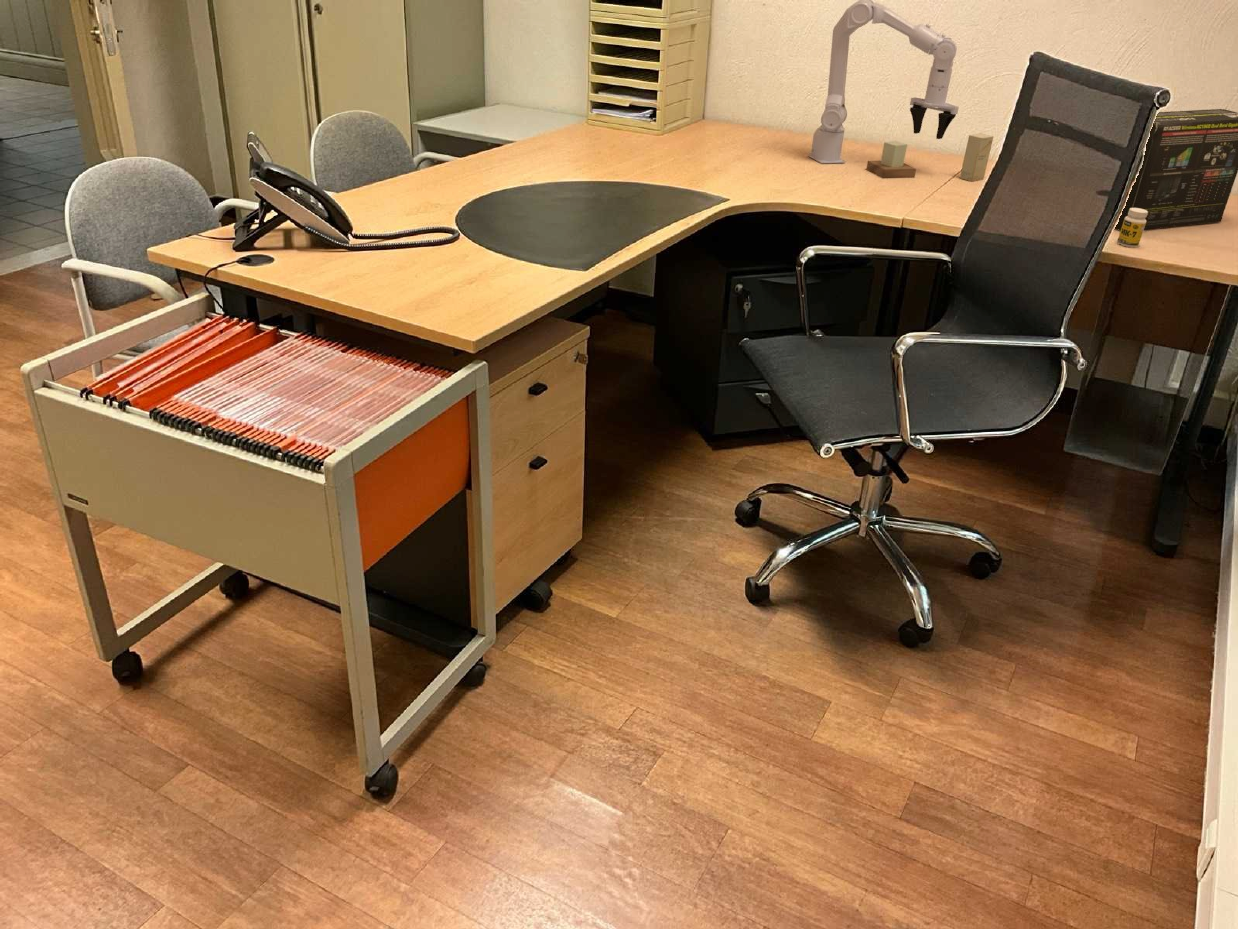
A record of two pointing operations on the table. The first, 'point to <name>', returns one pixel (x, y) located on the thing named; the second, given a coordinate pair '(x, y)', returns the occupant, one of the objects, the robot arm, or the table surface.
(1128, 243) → the supplement bottle
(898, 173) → the walnut block
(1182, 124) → the router box
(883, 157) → the sage block
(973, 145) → the skincare box
